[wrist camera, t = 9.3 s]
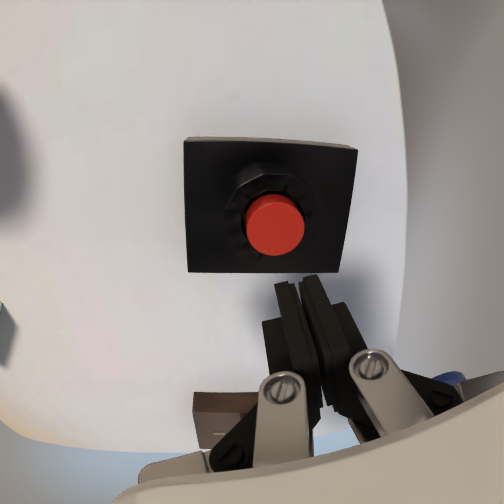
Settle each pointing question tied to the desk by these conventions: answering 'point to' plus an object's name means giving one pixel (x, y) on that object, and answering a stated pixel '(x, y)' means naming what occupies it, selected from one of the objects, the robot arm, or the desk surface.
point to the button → (274, 225)
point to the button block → (260, 184)
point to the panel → (219, 414)
